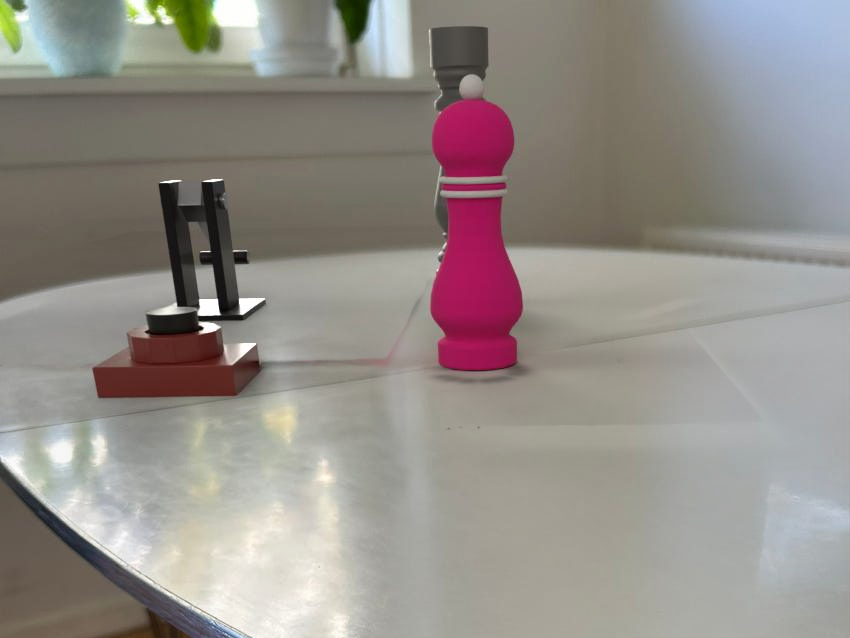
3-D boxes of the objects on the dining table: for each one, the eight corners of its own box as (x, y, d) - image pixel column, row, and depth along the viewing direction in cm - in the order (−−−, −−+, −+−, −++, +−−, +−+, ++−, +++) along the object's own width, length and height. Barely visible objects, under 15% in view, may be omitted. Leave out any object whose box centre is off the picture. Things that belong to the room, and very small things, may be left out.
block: (97, 398, 71) (86, 341, 69) (134, 374, 78) (125, 321, 77) (236, 396, 71) (228, 338, 69) (260, 371, 78) (254, 318, 76)
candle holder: (459, 297, 110) (451, 33, 98) (506, 301, 107) (503, 28, 95) (425, 305, 105) (412, 29, 94) (472, 309, 102) (465, 24, 91)
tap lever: (202, 272, 104) (203, 250, 105) (249, 271, 104) (250, 249, 104) (162, 205, 92) (163, 181, 93) (216, 204, 92) (216, 180, 92)
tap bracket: (181, 315, 103) (160, 179, 97) (267, 313, 103) (251, 177, 97) (150, 332, 94) (125, 184, 89) (244, 331, 94) (225, 182, 88)
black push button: (143, 340, 71) (138, 315, 71) (158, 331, 75) (154, 307, 74) (192, 339, 71) (188, 314, 71) (206, 330, 75) (202, 306, 74)
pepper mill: (435, 354, 83) (424, 78, 73) (522, 352, 82) (522, 75, 73) (429, 373, 76) (415, 73, 67) (523, 371, 76) (523, 70, 67)
